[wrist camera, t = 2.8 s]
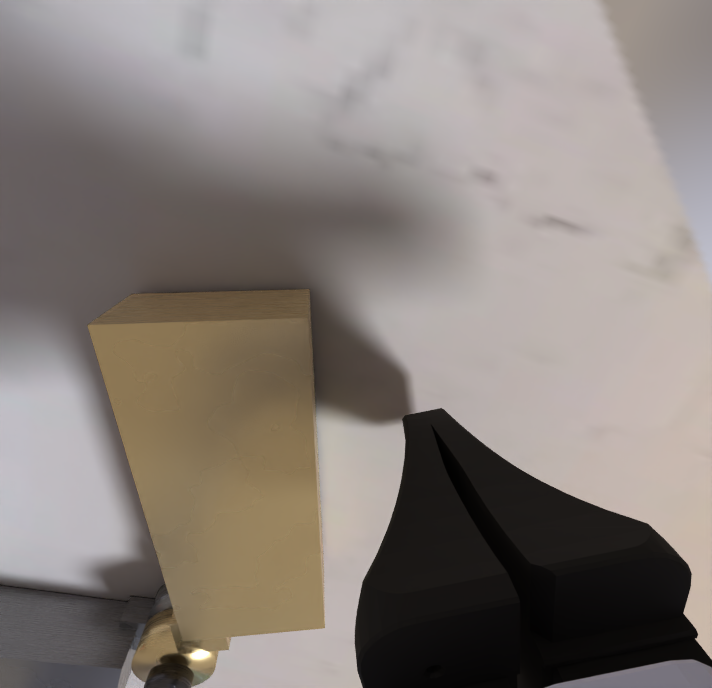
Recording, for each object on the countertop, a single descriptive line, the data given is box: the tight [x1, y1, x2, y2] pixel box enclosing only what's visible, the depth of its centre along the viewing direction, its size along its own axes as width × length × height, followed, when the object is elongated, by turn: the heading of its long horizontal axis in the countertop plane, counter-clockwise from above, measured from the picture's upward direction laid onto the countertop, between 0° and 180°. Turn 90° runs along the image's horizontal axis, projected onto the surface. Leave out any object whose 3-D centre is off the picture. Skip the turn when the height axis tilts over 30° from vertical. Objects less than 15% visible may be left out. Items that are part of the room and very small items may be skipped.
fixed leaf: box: [0, 584, 194, 688], centre depth 15 cm, size 7×15×4 cm, turn 70°
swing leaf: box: [87, 289, 325, 687], centre depth 13 cm, size 7×15×2 cm, turn 0°
